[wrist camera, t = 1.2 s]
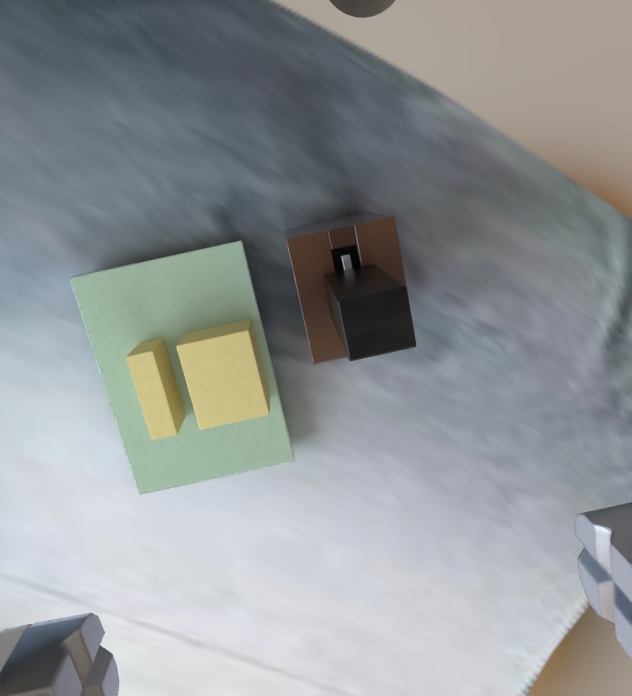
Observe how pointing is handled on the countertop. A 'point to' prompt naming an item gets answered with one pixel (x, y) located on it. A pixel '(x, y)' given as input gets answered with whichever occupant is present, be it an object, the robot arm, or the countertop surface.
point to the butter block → (224, 374)
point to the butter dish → (171, 324)
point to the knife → (368, 309)
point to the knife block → (316, 260)
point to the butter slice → (156, 388)
